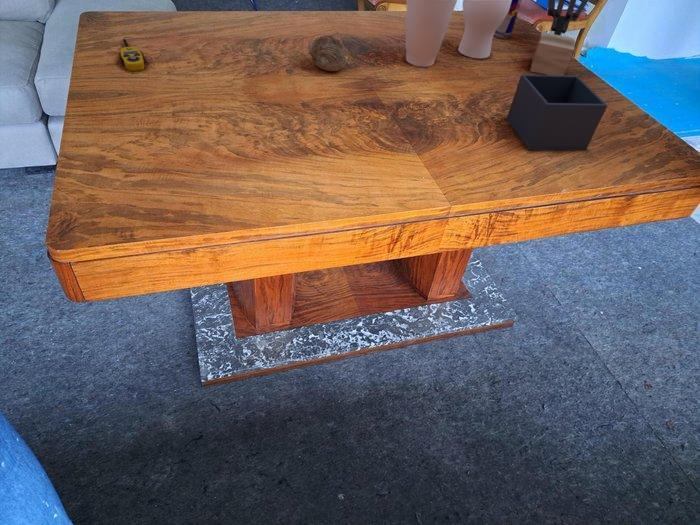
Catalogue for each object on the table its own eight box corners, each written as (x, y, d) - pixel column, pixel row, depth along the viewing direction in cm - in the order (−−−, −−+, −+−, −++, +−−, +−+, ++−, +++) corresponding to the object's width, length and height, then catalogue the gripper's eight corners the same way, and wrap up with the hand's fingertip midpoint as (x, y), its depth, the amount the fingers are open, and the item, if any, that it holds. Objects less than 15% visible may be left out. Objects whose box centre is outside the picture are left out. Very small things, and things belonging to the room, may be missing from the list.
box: (586, 150, 100) (607, 105, 94) (528, 150, 98) (546, 104, 92) (559, 118, 109) (577, 75, 102) (506, 118, 107) (521, 74, 100)
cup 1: (451, 70, 122) (468, -2, 111) (405, 72, 119) (418, -2, 108) (432, 49, 130) (446, -19, 119) (389, 51, 127) (399, -20, 115)
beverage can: (495, 38, 139) (512, -22, 129) (489, 31, 143) (506, -28, 132) (512, 39, 140) (531, -20, 129) (506, 32, 144) (524, -27, 133)
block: (532, 59, 131) (541, 31, 126) (563, 66, 130) (574, 38, 125) (530, 71, 126) (540, 42, 121) (562, 78, 124) (574, 49, 119)
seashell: (315, 79, 113) (348, 74, 115) (314, 48, 108) (349, 43, 110) (303, 60, 119) (335, 55, 121) (302, 29, 114) (335, 25, 116)
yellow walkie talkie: (122, 63, 105) (111, 35, 114) (124, 72, 106) (113, 43, 115) (147, 61, 107) (134, 33, 116) (148, 70, 108) (135, 42, 117)
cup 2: (465, 62, 126) (483, -8, 115) (444, 44, 133) (459, -23, 122) (504, 60, 129) (524, -8, 118) (481, 42, 136) (499, -24, 125)
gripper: (603, -33, 131) (576, 55, 131) (552, -42, 133) (525, 44, 133) (613, -52, 123) (585, 42, 123) (559, -61, 125) (531, 30, 126)
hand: (554, 43), depth 128 cm, fingers closed
